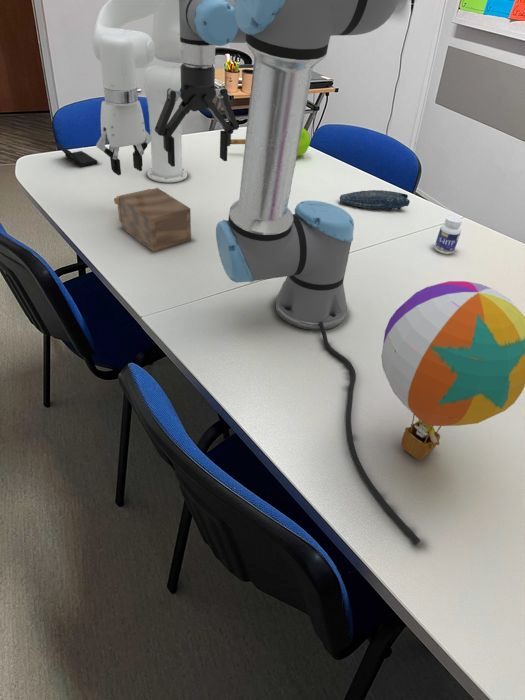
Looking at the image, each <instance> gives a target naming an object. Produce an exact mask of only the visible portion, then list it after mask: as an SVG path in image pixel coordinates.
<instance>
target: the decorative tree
mask: <svg viewBox="0 0 525 700" xmlns="http://www.w3.org/2000/svg"><path fill="white" fill-rule="evenodd" d="M245 140H246V138H244V139H243V138H241V139H239V138H237V139H236V138H235V139H233V138H231V144H230V145H245ZM310 145H311V136H310V133H309V132H308V131H307V130H306V129H305V128H304V127H303V126H302V131H301V136H300V141H299V147H298V152H297V157H300V156H302V155H305V154H306V153H307V151H308V148H309V147H310Z"/></svg>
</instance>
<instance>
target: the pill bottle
mask: <svg viewBox="0 0 525 700" xmlns="http://www.w3.org/2000/svg"><path fill="white" fill-rule="evenodd" d="M462 222H463V219H461V218H460V217H458V216H455V215H448V216H446V218H445V220H444V223H443V224H442V225H440V228H439V231H438V234H437V237H436V240H435V243H434V250H435V251H437V252H439V253H441V254H447V255H449V254H453V253H454V252H455V250H456V247H457V244H458V242H459V239H460V236H461V233H462V229H461V225H462Z"/></svg>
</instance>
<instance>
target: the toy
mask: <svg viewBox="0 0 525 700" xmlns="http://www.w3.org/2000/svg"><path fill="white" fill-rule="evenodd" d="M380 357H381V358H380V359H381V367H382V370H383V372H384V375H385V377H386V379H387V381H388V384H389V386H390V388H391V390H392V393H393V394H394V395H395V397H396V398H397V399H398V400H399V401H400V402H401V403H402V405H403V406H404V407H405V408H407V410H408V411H409V412H410V413H412V414H413V415H412V422H411V424H410V427H409V426H407V427H405V428H404V432H403V435H402V437H401V442H400V445H401V446H400V447H401V448H402V450H404V451H406V453H408V454H409V455H410V456H412V457H413V458H414V459H416V460H417V461H421V460H423V459H425V458H426V457H427V456H428V455H429V454H430V453H432V452H433V451H434V450H435V448H436V447H437V446H439V445H440V442H439V441H440V439H441V434H439V431H440V429H441V428H442V427H456V426H467V425H476V424H479V423H482V422H484V421H486V420H488V419H490V418H492V417H495V416H497V415H498V414H501V413H503V412H505V411H507V410H508V409H509V408H510V407H511V406H513V405H514V404H515V403H516V402H517V400H518V399H519V397H520V396H521V394H522V393H523V391H524V390H525V315H524V314H523V313H522V312H521V310H519V308H518V307H517V306H516V305H515V303H514V302H513V301H511V299H510V298H509V297H507V296H506V295H504V294H503V293H501V292H499V291H498V290H496V289H494V288H493V287H489V286H487V285H484V284H481V283H476V282H472V281H465V280H454V281H453V280H449V281H445V282H441V283H437V284H433V285H429V286H426V287H423V288H422V289H419V290H418V291H416V292H415V293H414V294H412V295H411V296H410V297H409V298H408V299H407V300H405V302H404V303H403V304H401V305H400V306H399V307H398V308H397V309H396V310H395V312H394V313H393V314H392V316H391V317H390V318H389V320H388V322H387V325H386V328H385V330H384V335H383V343H382V349H381V355H380ZM415 417H416V418H417V419H418V421H416V422H415V423H414V420H415ZM434 427H438V429H436V431H435V428H434Z"/></svg>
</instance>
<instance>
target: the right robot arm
mask: <svg viewBox="0 0 525 700" xmlns="http://www.w3.org/2000/svg"><path fill="white" fill-rule="evenodd" d="M399 2H400V0H179V18H180V60H181V62H182V63H181V65H180V67H179V68H181V89H180V91H178V90H172V89H170V88H169V89H168V90H167V99H166V102H165V104H164V107H163V109H162V112H161V114H160V117H159V120H158V122H157V125H156V127H155V132H156V133H157V134H158V135H160V136H163V143H164V150H165V151H166V152H168V163H169V164H170V165H171V166H172V167H174V166H175V152H174V138H173V137H172V136H171V135H172V134H173V132H174V131H175V130H176V128H177V127H178V125H179V124H180V122H181V123H182V121H183V120H184V119H185V117H186V115H188V114H189V113H190V111H192V112H198V111H202V112H205V111H207V110H208V111H209V112H210V113H211V114H212V116H213V117H214V118H215V120H216V121H217V122H218V124H219V125H220V127H221V128H222V130H220V131H219V132H220V133H219V134H220V135H219V137H220V138H219V158H220V160H222V161H223V162H228V147H230V146H231V145H232V144H231V139H232V134H234V131H237V130H238V129H239V128H240V125H239V123H238V121H237V118H236V116H235V113H234V110H233V108H232V105H231V103H230V100H229V94H228V89H227V88H226V87H223V86H218V88H215V82H216V68H215V66H213V65H215V64H216V46H217V47H223V46H226V45H229V44H245V45H246V47H247V48H248V49H249V51H250V52H251V53H252V55H253V57H254V59H253V68H252V76H251V86H250V94H249V105H248V111H247V112H248V113H247V121H246V123H247V124H246V133H245V139H246V140H245V144H244V151H243V159H242V170H241V177H240V178H241V180H240V186H239V187H240V188H239V196H238V197H239V198H238V199H237V200H236V201H234V202H233V203H232V204H231V205H230V207H229V211H228V219H222V220H220V221H218V223H217V224H216V228H215V237H216V238H215V239H216V245H217V246H216V247H217V250H218V254H219V255H218V256H219V257H220V262H221V265H222V267H223V270H224V272H225V274H226V276H227V277H228V279H229V280H231V281H232V282H234V283H254V282H257V281H262V280H263V281H264V280H271V279H277V278H285V277H286V278H285V279H284V281H283V283H282V285H281V287H280V290H279V291H278V294H277V296H276V300H275V311H276V313H277V315H278V316H279V317H280V318H281V319H282V320H283V321H284V322H286V323H287V324H289V325H291V326H293V327H296V328H300V329H304V330H310V331H320V332H321V333H320V334H321V337H322V341H323V344H324V346H325V348H326V349H327V351H328V352H330V354H331V355H333V356H334V357H336V358H337V359H339V360H340V361H342V363H344V365H346V366H347V368H348V369H349V372H350V382H349V386H348V390H347V401H346V403H347V404H346V410H345V428H346V429H345V431H346V439H347V445H348V449H349V452H350V455H351V459H352V461H353V463H354V465H355V468H356V469H357V472H358V473H359V475H360V477H361V479H362V480H363V482H364V484H365V485H366V487H367V488H368V489H369V491H370V492H371V494H372V495H373V496H374V498H375V499H376V500H377V501H378V503H379V504H380V505H381V507H382V508H383V509H384V510H385V512H386V513H387V514H388V515H389V516H390V517H391V519H392V520H393V521H394V522H395V524H397V526H398V527H399V528H400V529H401V530H402V531H403V532H404V533H405V534H406V535H407V536H408V537H409V539H411V541H412V542H413V543H414V544H415V545H418V544H419V543H420V542H421V539H420V538H419V536H417V534H415V533H414V531H413V530H412V529H411V528H410V527H409V525H407V524H406V523H405V522H404V520H402V518H401V517H400V516H399V515H398V514H397V513H396V512H395V511H394V510H393V508H392V507H391V506H390V505H389V503H388V502H387V501H386V500H385V499H384V497H383V496H382V494H381V493H380V492H379V490H378V489H377V488H376V486H375V485H374V483H373V482H372V481H371V479H370V478H369V476H368V474H367V473H366V471H365V469H364V467H363V465H362V462H361V461H360V458H359V456H358V454H357V451H356V447H355V444H354V438H353V430H352V407H353V399H354V397H353V396H354V388H355V384H356V380H357V374H356V370H355V368H354V366H353V364H352V362H351V361H350V360H349V359H347V358H346V357H345V356H344V355H342V354H341V353H339V352H338V351H337V350H336V349H334V348H333V347H332V346H331V344H330V342H329V340H328V336H327V332H326V330H329V329H333V328H336V327H337V326H339V325H340V324H342V323H343V322H344V320H345V318H346V315H347V310H348V305H347V297H346V292H345V286H344V280H345V275H346V271H347V267H348V260H349V257H350V251H351V246H352V242H353V240H354V231H355V229H354V228H355V221H354V219H353V217H352V216H351V214H350V213H349V212H347V211H346V210H345V209H343V208H341V207H340V206H337V205H334V204H332V203H329V202H325V201H321V200H302V201H300V202H299V203H297V204H296V206H295V208H294V213H293V212H292V211H291V210H290V208H289V206H288V205H289V199H290V194H291V190H292V184H293V179H294V173H295V168H296V164H297V163H296V162H297V157H298V156H297V152H298V147H299V141H300V136H301V131H302V127H303V124H304V121H305V113H306V108H307V104H308V103H307V102H308V98H309V91H310V88H311V87H310V86H311V82H312V76H313V72H314V67H315V66H316V65H317V64H318V63H320V62H322V60H323V59H325V58H326V56H327V54H328V49H329V44H330V39H331V37H333V36H343V37H344V36H359V35H364V34H368V33H372V32H373V31H375V30H377V29H379V28H380V27H382V26H383V25H384V24H385V23H386V22H387V21H388V20H389V19H390V18H391V16H392V15H393V13H394V12H395V11H396V8H397V6H398V4H399ZM179 97H181V99H182V100H183V101H182V102H181V103H180V104H178V108H176V109H177V111H176V112H175V114H174V115H173V117H172V118H171V120H170V121H169V122H168V120H169V118H170V116H171V113H172V111H173V108H174V105H175V106H176V104H175V101H177V100H178V98H179ZM216 97H217V98H218V99H219V101H220V104H221V107H222V109H223V112H224V114H225V116H226V119H227V120H226V119H225V118H224V117H223V115H222V114H221V112H220V111H219V110H218V107H217V106H216V105H215V104H214V102H213V101H214V99H215V98H216ZM227 121H228V122H227ZM167 123H168V124H167Z"/></svg>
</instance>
